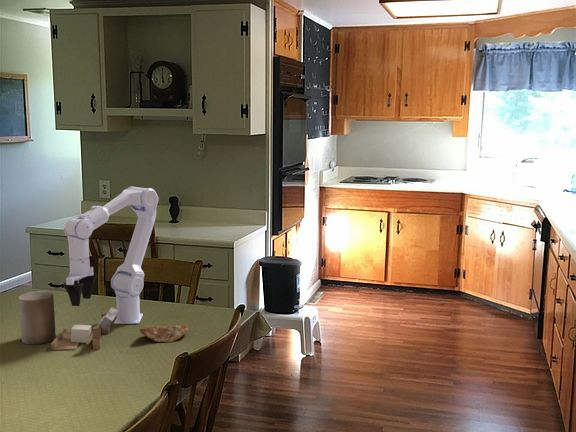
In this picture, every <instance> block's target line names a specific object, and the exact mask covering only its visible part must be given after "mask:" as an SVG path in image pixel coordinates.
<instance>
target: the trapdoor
mask: <svg viewBox="0 0 576 432" xmlns="http://www.w3.org/2000/svg"><path fill="white" fill-rule="evenodd" d="M106 313H107V314H106V316H103V318H102V317H101V319H100V321H99V323H97V325H96V327H101V329H102V328H103V329H104V330H107V329H108V327H109V326H111V324H112V323H113V321H115V319H116V318H115V317H117V313H118V310H117V308H114V307H113V306H111V307H110V308H109V310H108V311H107V312H106ZM91 341H93V333H92V332H91V336H90V337H89V339H88V341H87V342H86V343H85V344H86V345H87V346H88V345H90V344H91Z"/></svg>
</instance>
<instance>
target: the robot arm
mask: <svg viewBox="0 0 576 432" xmlns="http://www.w3.org/2000/svg"><path fill="white" fill-rule="evenodd" d="M159 200H160V199H159V196H158V194H157V192H156V190H155V189H154V188H151V187H148V188H145V187H137V186H134V185H133V186H132V185H131V186H129V187H127V188H125V189H124V190H122V192H121V193H120V194H118V195H117V196H116V197H115V198H114V197H113V199H112V200H110V201H109V202H107V203H105V204H104V205H103V206H101V205H92V206H90V209H89V210H88V211H87V210H86V211H85V212H84V213H80V214H79V215H78V217H77V218H76V217H75V218H74V217H73V218H70V219H68V220H67V222H66V223H65V226H64V227H63V232H64V234H65V236H66V237H67V242H68V257H69V274H68V276H66V278H65V282H64V283H63V284H62V286H63V288H64V289H65V291H66V293H67V295H68V298H69V300H70V303H71V306H72V307H80V305H81V299H88V300H89V299H91V297H92V292H93V287H94V285H95V281H96V279H97V278H98V277H97V276H98V275H97V274H95V273H94V266H91V264H90V263H91V262H90V261H91V260H90V246H89V245H90V239H89V238H90V237H91V235H92V233H93V231H94V230H96V229H98V228H99V227H101V226H102V225H104V224H105V223H107V222H108V221H109V217H110V216H111V215H114V214H115V213H117V212H119V211H121V210H122V209H124V208H126V207H128V206H129V208H131V209H132V210H133V212H135V214H136V215H137V220H136V223H135V227H134V230H133V233H132V237H131V240H130V243H129V247H128V249H127V253H126V255H125V259H124V262H123V263H122V264H120V265H119V266H118V267H117V269H116V271H115V273H114V274H113V275H112V277H111V280H110V286H111V289H113V290H114V294H115V298H116V299H115V301H116V310H118V313H117V314H116V318H115V319H114V322H113V324H114V325H130V324H131V325H132V324H134V325H135V324H140V322H141V319H142V318H143V315H144V314H143V313H141V311H140V310H141V309H140V308H141V307H140V305H141V303H140V295H141V292H142V291H143V289H144V284H145V283H144V282H145V281H144V279H145V273H144V270H143V269H142V264H143V261H144V258H145V255H146V251H147V248H148V245H149V242H150V237H151V235H152V232H153V228H154V226H155V225H154V224H155V221H156V218H157V206H158V204H159ZM81 295H82V298H81Z"/></svg>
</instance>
